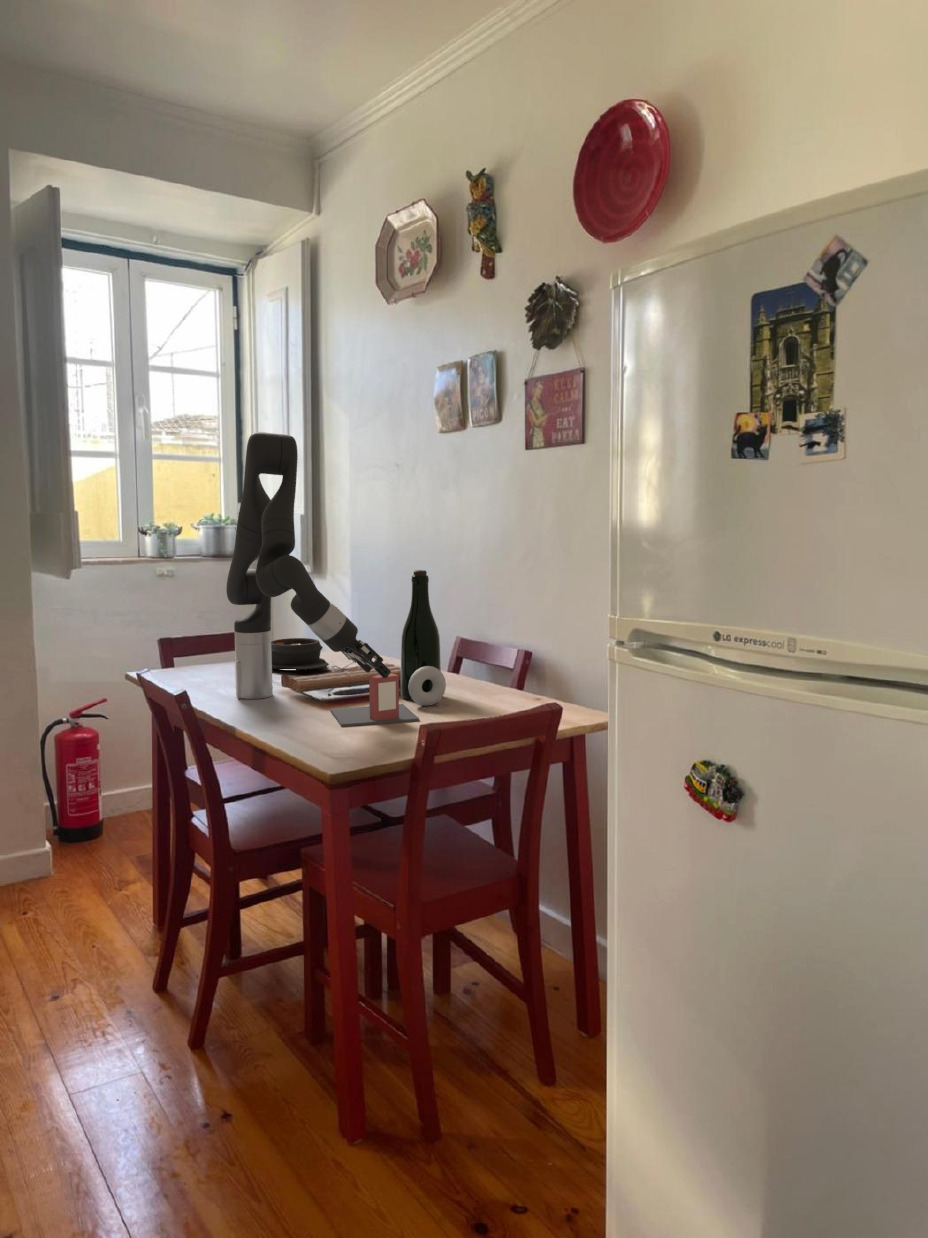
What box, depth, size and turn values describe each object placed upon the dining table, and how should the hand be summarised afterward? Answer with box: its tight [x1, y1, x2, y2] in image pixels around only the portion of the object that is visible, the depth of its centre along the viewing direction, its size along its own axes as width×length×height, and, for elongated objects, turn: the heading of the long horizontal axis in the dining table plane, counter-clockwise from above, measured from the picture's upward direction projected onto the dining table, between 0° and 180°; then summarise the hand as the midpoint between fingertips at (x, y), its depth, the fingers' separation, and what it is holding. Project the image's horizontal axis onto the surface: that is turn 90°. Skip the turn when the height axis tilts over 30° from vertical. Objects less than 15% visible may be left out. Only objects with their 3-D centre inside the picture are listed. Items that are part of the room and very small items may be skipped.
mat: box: [330, 703, 420, 728], centre depth 211 cm, size 18×16×1 cm
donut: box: [408, 666, 447, 707], centre depth 222 cm, size 10×4×10 cm, turn 118°
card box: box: [368, 673, 400, 721], centre depth 206 cm, size 6×3×10 cm, turn 123°
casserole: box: [271, 637, 330, 671], centre depth 274 cm, size 25×19×8 cm
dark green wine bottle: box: [400, 569, 442, 701], centre depth 230 cm, size 10×10×33 cm
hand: (378, 672), depth 205 cm, fingers open, 8 cm apart
